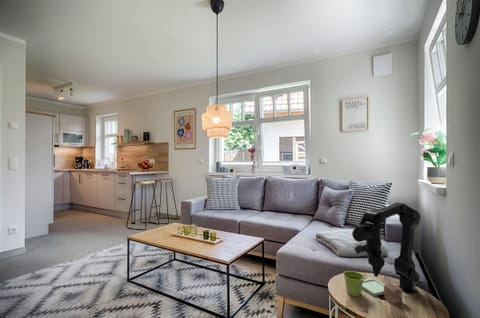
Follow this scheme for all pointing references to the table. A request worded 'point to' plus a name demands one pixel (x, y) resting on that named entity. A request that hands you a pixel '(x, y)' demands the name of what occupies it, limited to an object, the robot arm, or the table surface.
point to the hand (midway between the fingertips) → (374, 272)
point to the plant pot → (353, 282)
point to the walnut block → (393, 293)
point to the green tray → (373, 287)
